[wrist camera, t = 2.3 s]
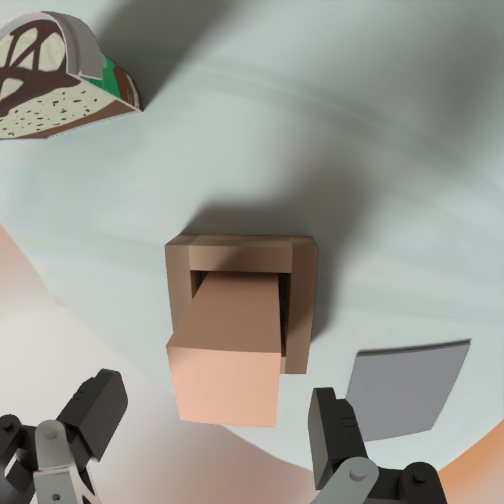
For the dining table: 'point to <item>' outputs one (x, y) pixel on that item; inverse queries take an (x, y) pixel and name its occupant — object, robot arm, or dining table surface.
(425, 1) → the dining table surface
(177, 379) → the terracotta block
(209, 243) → the walnut pocket
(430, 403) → the rubber mat
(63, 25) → the food container
